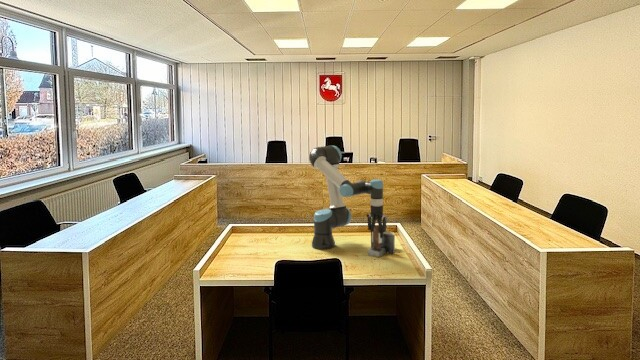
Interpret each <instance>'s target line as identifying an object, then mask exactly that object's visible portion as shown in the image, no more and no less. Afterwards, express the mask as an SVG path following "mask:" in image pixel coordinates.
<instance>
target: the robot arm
mask: <svg viewBox="0 0 640 360" xmlns="http://www.w3.org/2000/svg"><path fill="white" fill-rule="evenodd" d="M342 157H343V155H342V151H341V149H340V148H339V147H338V146H336V145H325V146H316V147H314V148H313V149H311V150H310V152H309V155H308V161H309V162H310V165H311V166H312V167H313V168H314V169H315V170H319V171H320V172H321V173H322V175H324V176H325V179H326V185H327V191H328V196H329V197H328V199H329V204H330V205H329V207H328V208H324V209H319V210H317V211H315V212H314V214H313V227H314V229H313V230H314V231H313V232H314V234H313V238H312V241H311V247H312V248H313V249H317V250H330V249H332V248H335V247H336V241H335V239H334V236H333V229H335V228H341V227H344V226H347V225H349V224H350V222H351V220H352V212H351V210H350V209H349V208H348V207H347V204H345V203H344V200H343V198H349V197H353V196H358V195H362V194H363V195H365V194H368V195H370V213H367V214H366V218H367V229H368V230H367V231H370V237H371V236H372V242H374V226H375V225H376V223H377V225H378V226H379V231H380V232H379V243H382V238H383V232H386V231H387V219H388V216H387V215H384V206H383V205H384V181H383V180H382V179H377V178H376V179H375V178H374V179H371V180H370V181H366V180H364V179H363V180H361V179H360V180H357V182H351V181H350V180H349V179H348V178H346V177H345V176H344V175H343V174H342V173H341V172H340V171H339V169H338V168H339V166H340V162H341V160H342Z"/></svg>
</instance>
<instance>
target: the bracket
mask: <svg viewBox="0 0 640 360" xmlns="http://www.w3.org/2000/svg"><path fill="white" fill-rule="evenodd" d="M395 245H396V244H395V234H387V233H383V238H382V243H380V249H374V242H372V236H371V235H370V248H368V249H367V255H368V256H369V257H376V258H381V257H382V256H384V255H386V253H387V254H390V255H394V254H395V252H396V251H395Z"/></svg>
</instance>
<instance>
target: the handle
mask: <svg viewBox="0 0 640 360" xmlns="http://www.w3.org/2000/svg"><path fill="white" fill-rule="evenodd" d="M379 232H380V231H379V225H378V224H377V225H376V224H375V226H374V249H380V243H379Z"/></svg>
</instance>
